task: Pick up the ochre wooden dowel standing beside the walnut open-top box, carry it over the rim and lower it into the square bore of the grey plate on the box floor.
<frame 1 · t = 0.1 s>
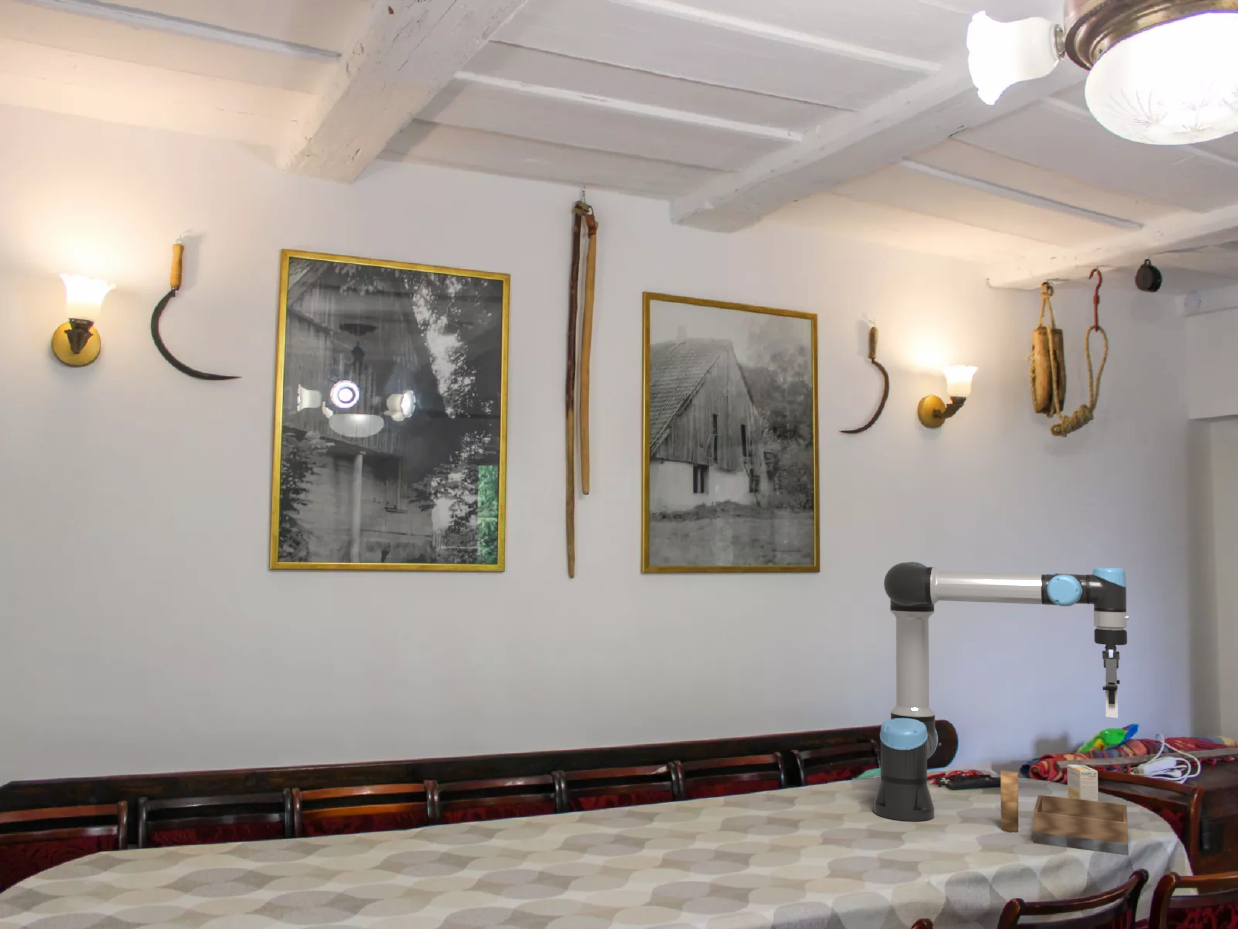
hand: (1111, 713, 262), 28 cm above the table, fingers open, 13 cm apart
supplement box: (1083, 820, 267), on the table
dowel: (1009, 830, 255), on the table
box: (1081, 838, 249), on the table
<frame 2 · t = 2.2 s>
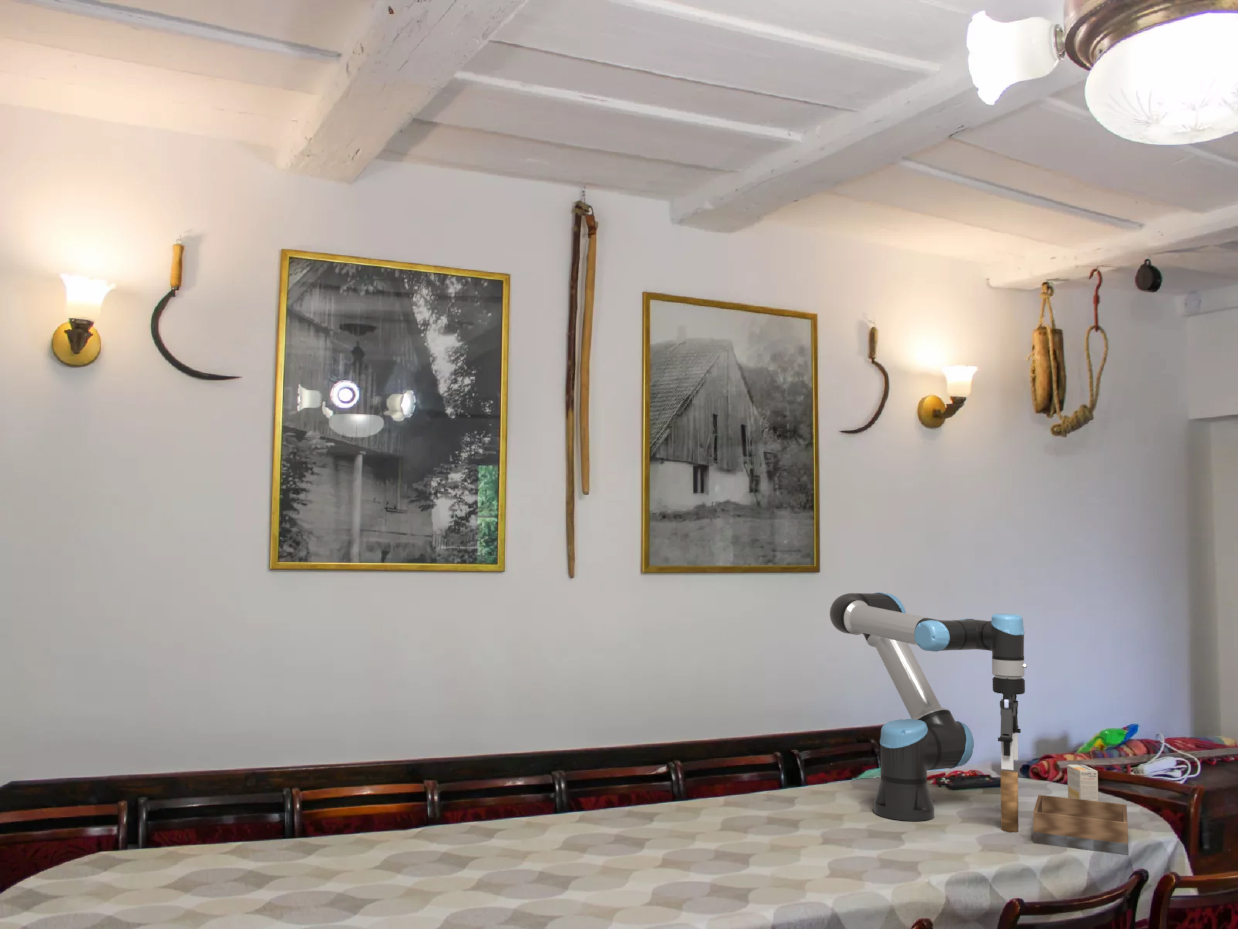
hand: (1010, 764, 256), 16 cm above the table, fingers open, 13 cm apart
nothing on the table moved.
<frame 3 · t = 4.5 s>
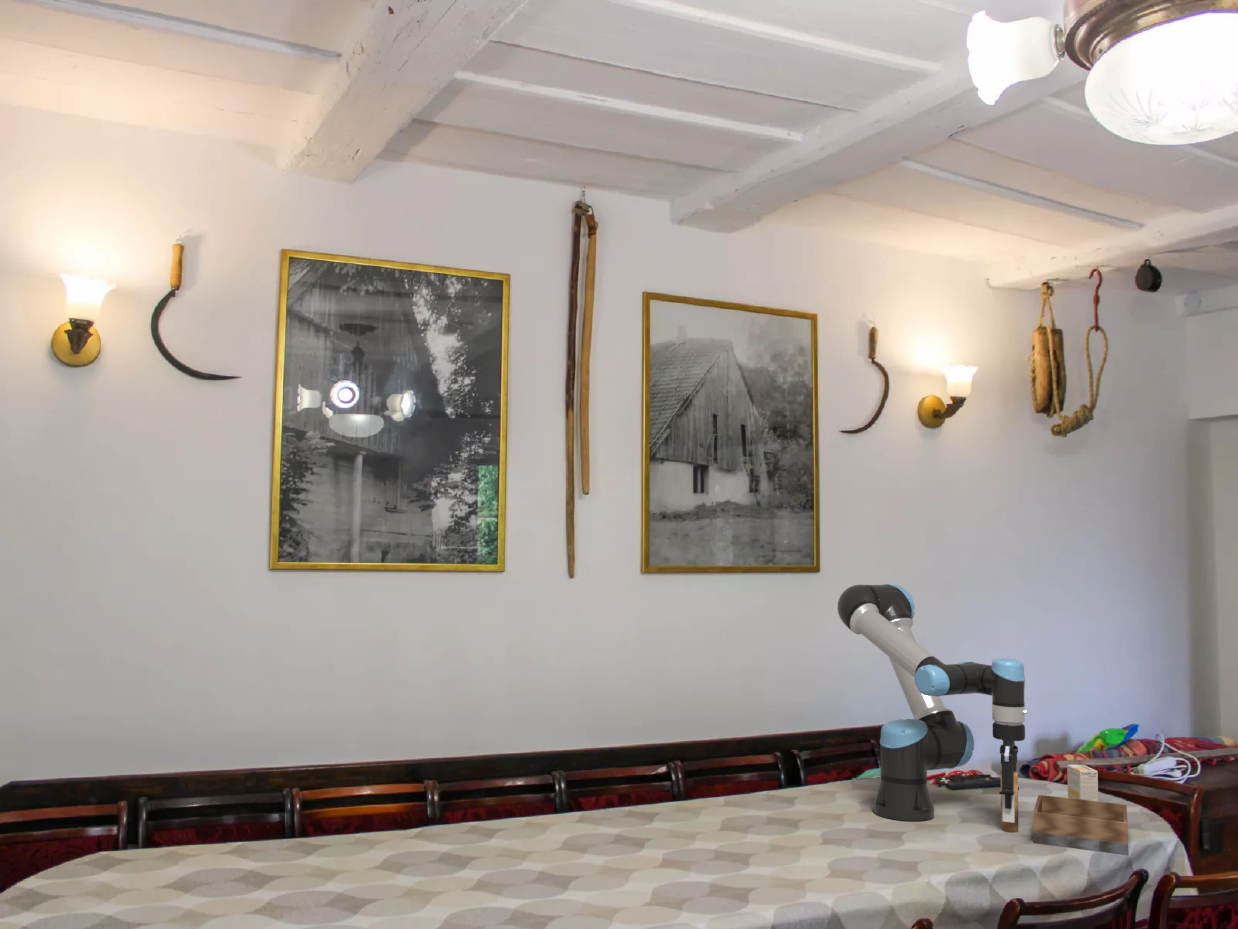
hand: (1009, 819, 255), 3 cm above the table, fingers closed on dowel, 4 cm apart
dowel: (1009, 830, 255), on the table, touching gripper
everything else where it was.
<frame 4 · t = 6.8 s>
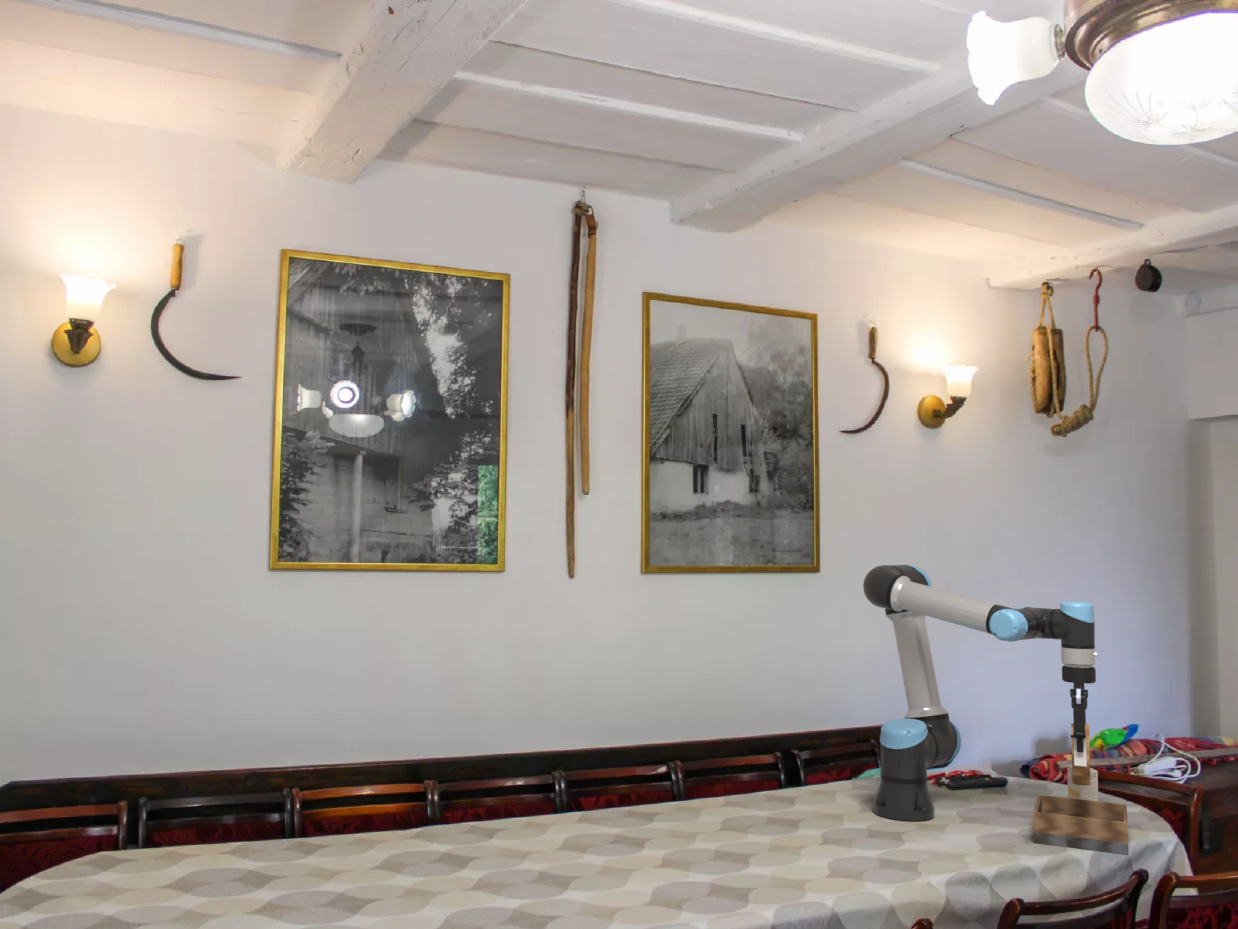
hand: (1080, 763, 250), 18 cm above the table, fingers closed on dowel, 4 cm apart
dowel: (1081, 783, 250), point 13 cm above the table, touching gripper
everything else where it was.
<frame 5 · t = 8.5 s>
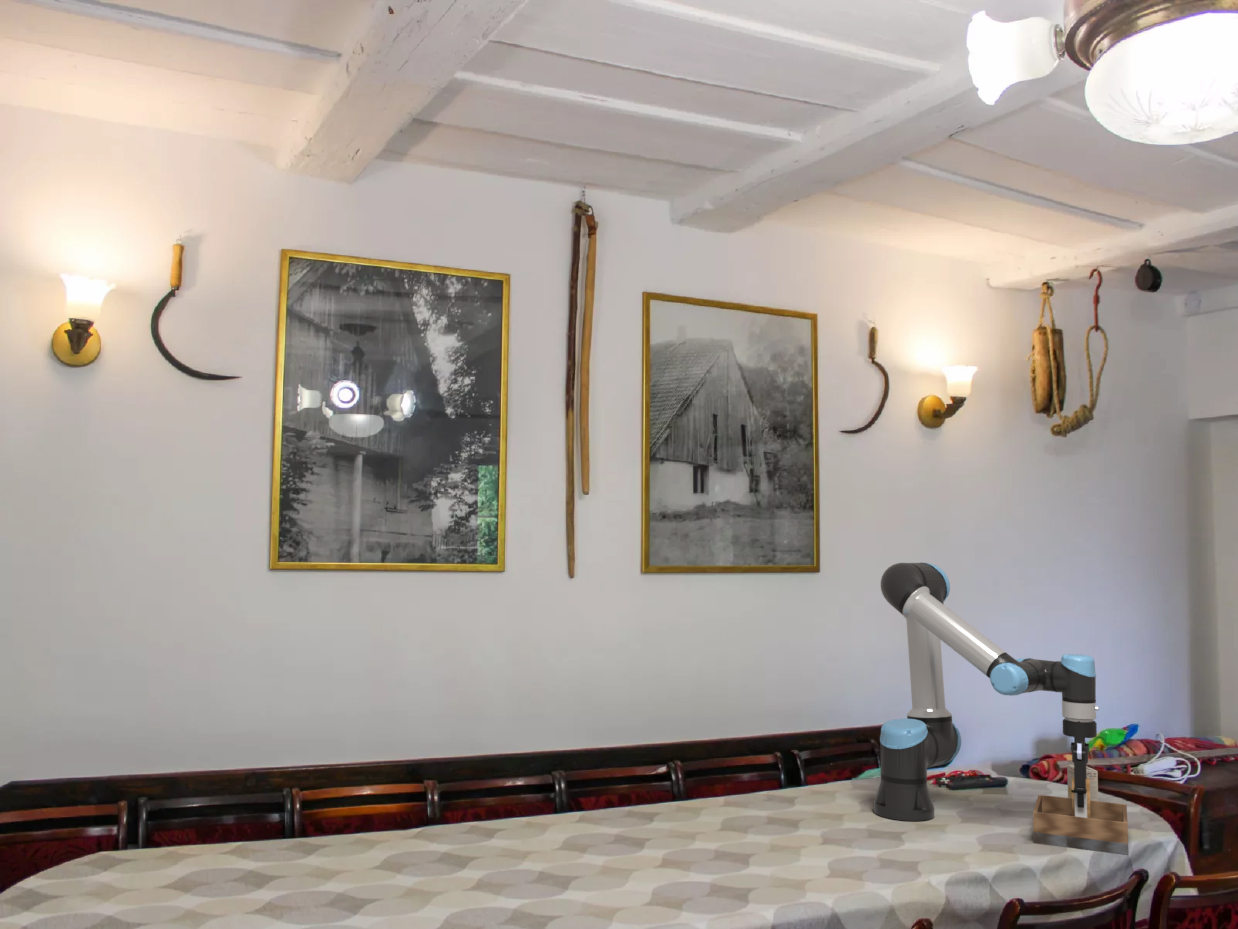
hand: (1081, 818, 250), 5 cm above the table, fingers closed on dowel, 4 cm apart
dowel: (1081, 838, 249), resting in box, touching gripper
everything else where it was.
when the fingers open (4 cm above the table, at t = 9.2 s): dowel stays where it is, resting in box.
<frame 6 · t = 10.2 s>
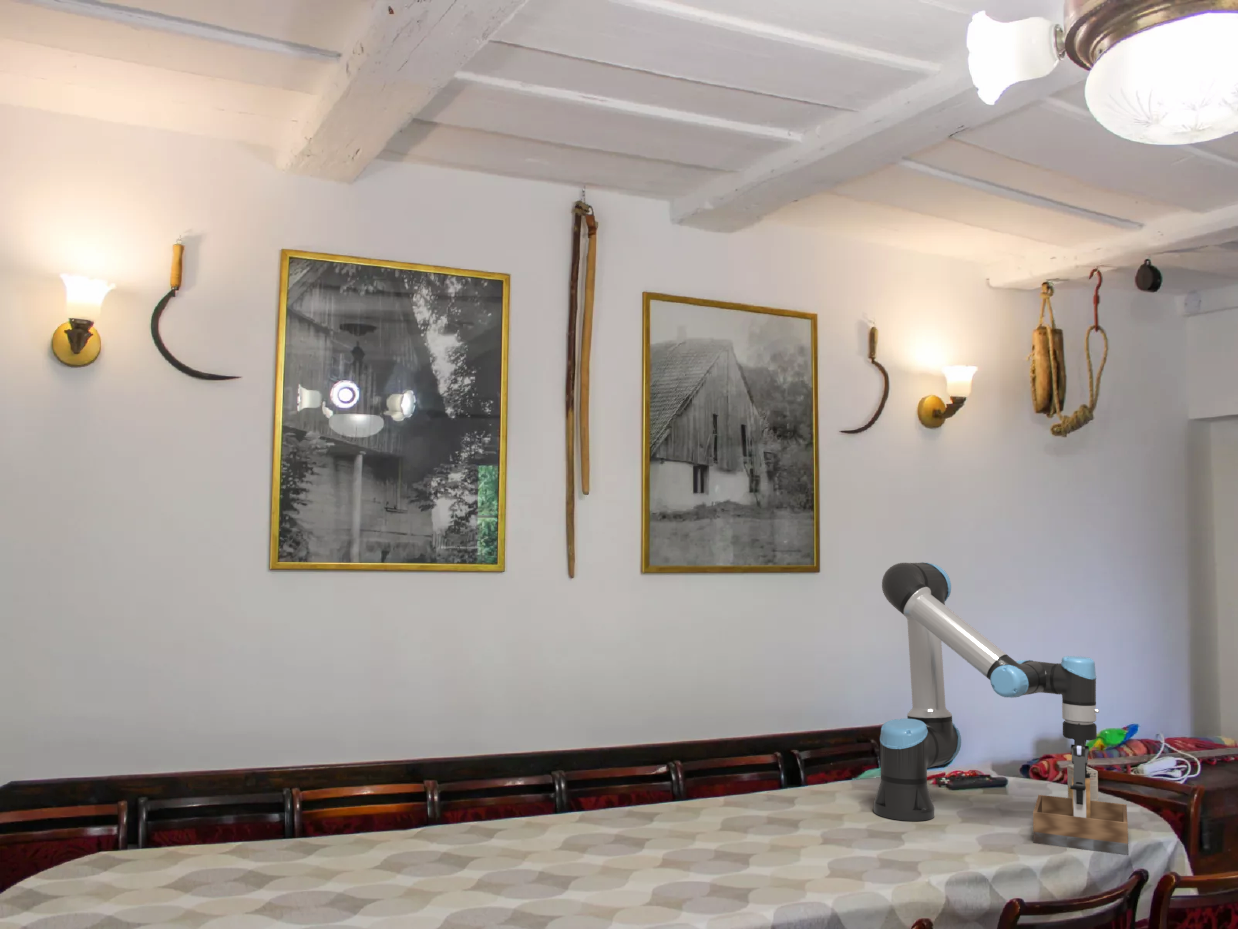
hand: (1080, 811, 250), 6 cm above the table, fingers open, 13 cm apart
dowel: (1081, 838, 249), resting in box
everything else where it was.
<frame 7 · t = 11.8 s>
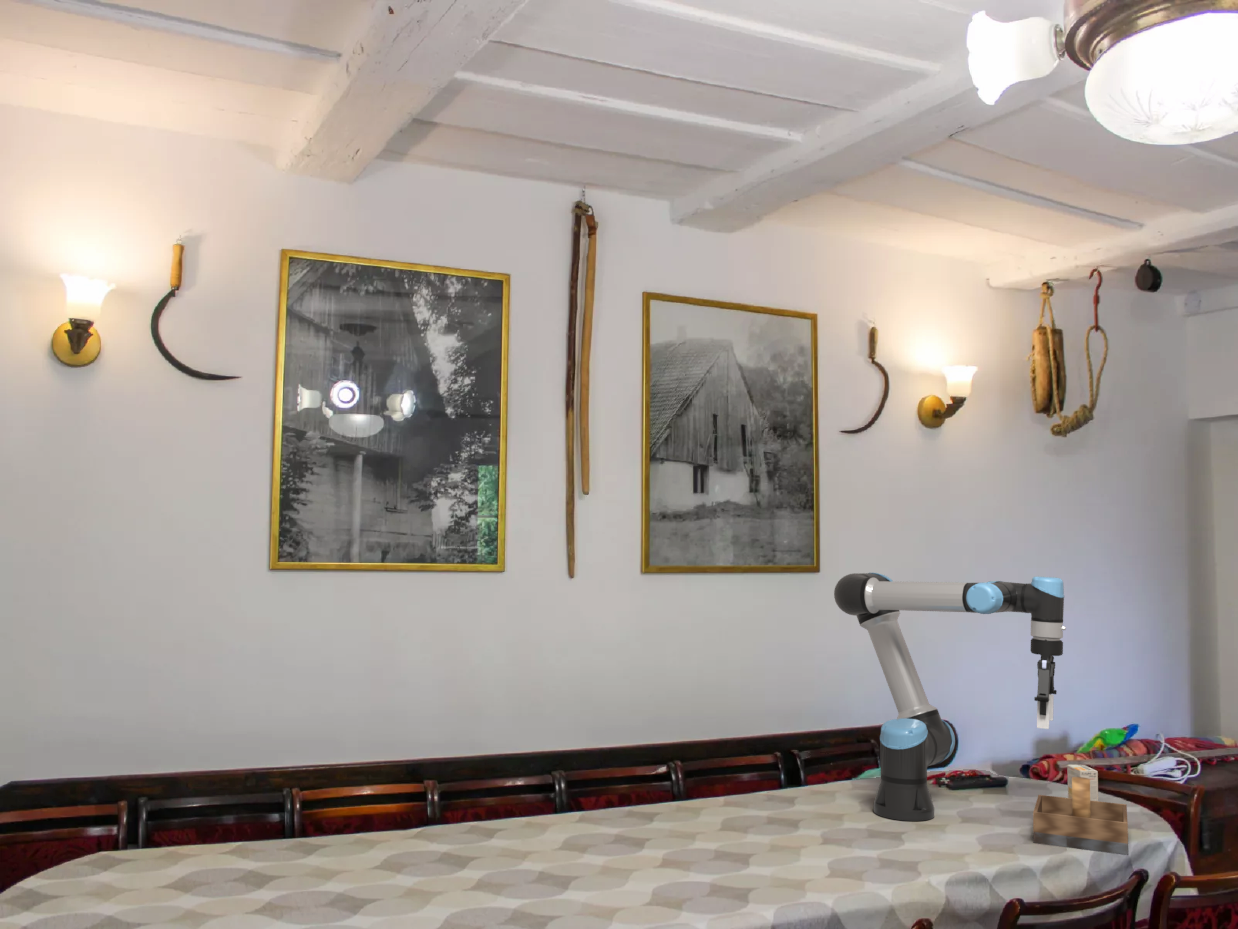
hand: (1045, 724, 260), 25 cm above the table, fingers open, 13 cm apart
nothing on the table moved.
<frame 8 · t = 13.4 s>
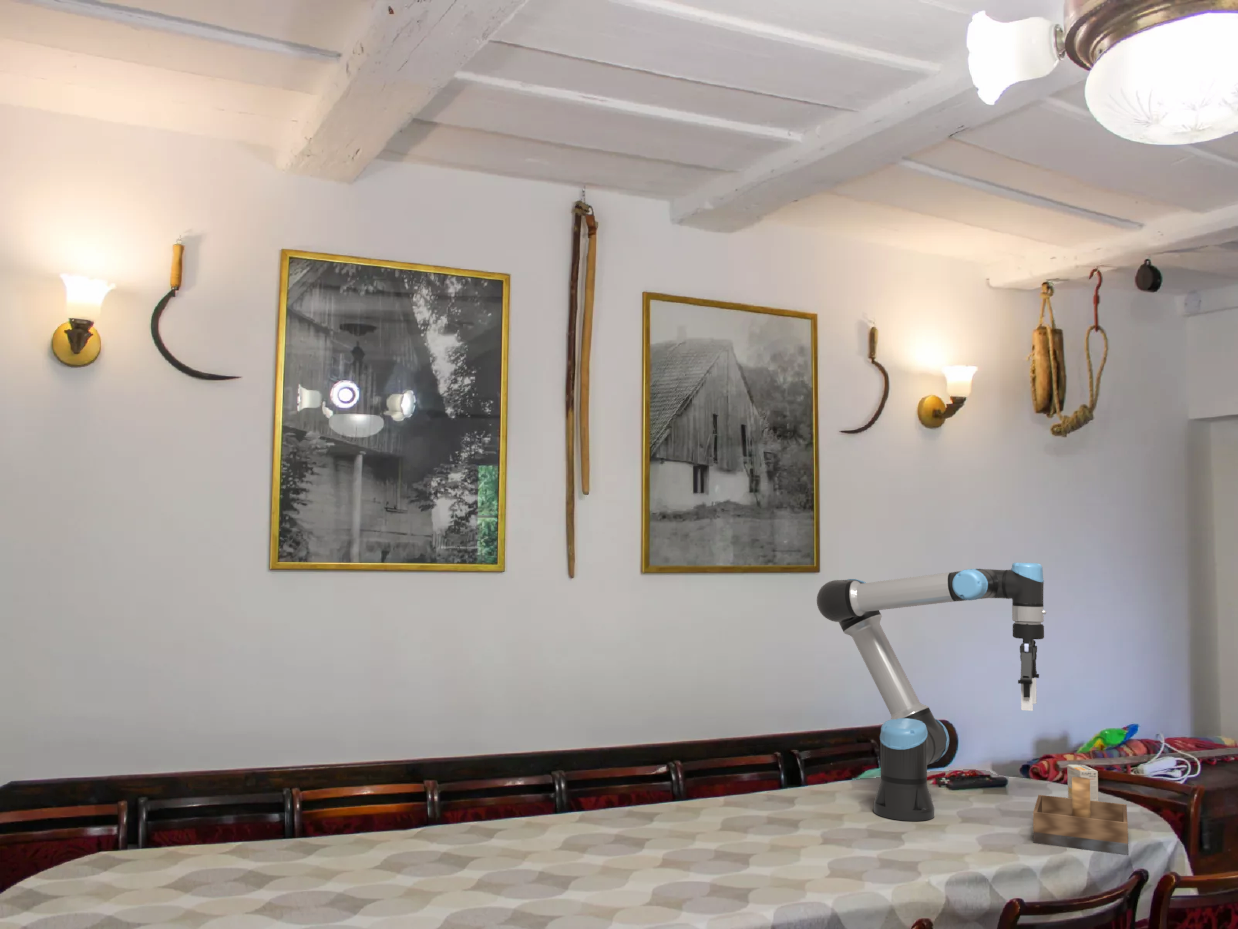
hand: (1029, 706, 266), 29 cm above the table, fingers open, 13 cm apart
nothing on the table moved.
at the end: dowel 0.1 cm off-centre on the box, point 0.0 cm above the box's base; dowel tilted 0°; the gripper is holding nothing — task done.
